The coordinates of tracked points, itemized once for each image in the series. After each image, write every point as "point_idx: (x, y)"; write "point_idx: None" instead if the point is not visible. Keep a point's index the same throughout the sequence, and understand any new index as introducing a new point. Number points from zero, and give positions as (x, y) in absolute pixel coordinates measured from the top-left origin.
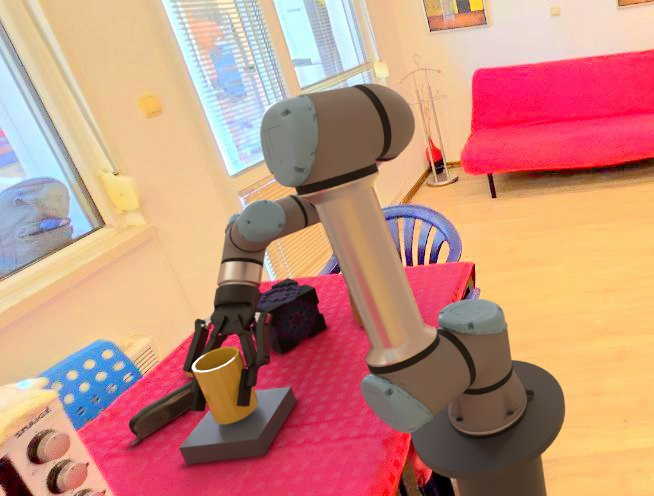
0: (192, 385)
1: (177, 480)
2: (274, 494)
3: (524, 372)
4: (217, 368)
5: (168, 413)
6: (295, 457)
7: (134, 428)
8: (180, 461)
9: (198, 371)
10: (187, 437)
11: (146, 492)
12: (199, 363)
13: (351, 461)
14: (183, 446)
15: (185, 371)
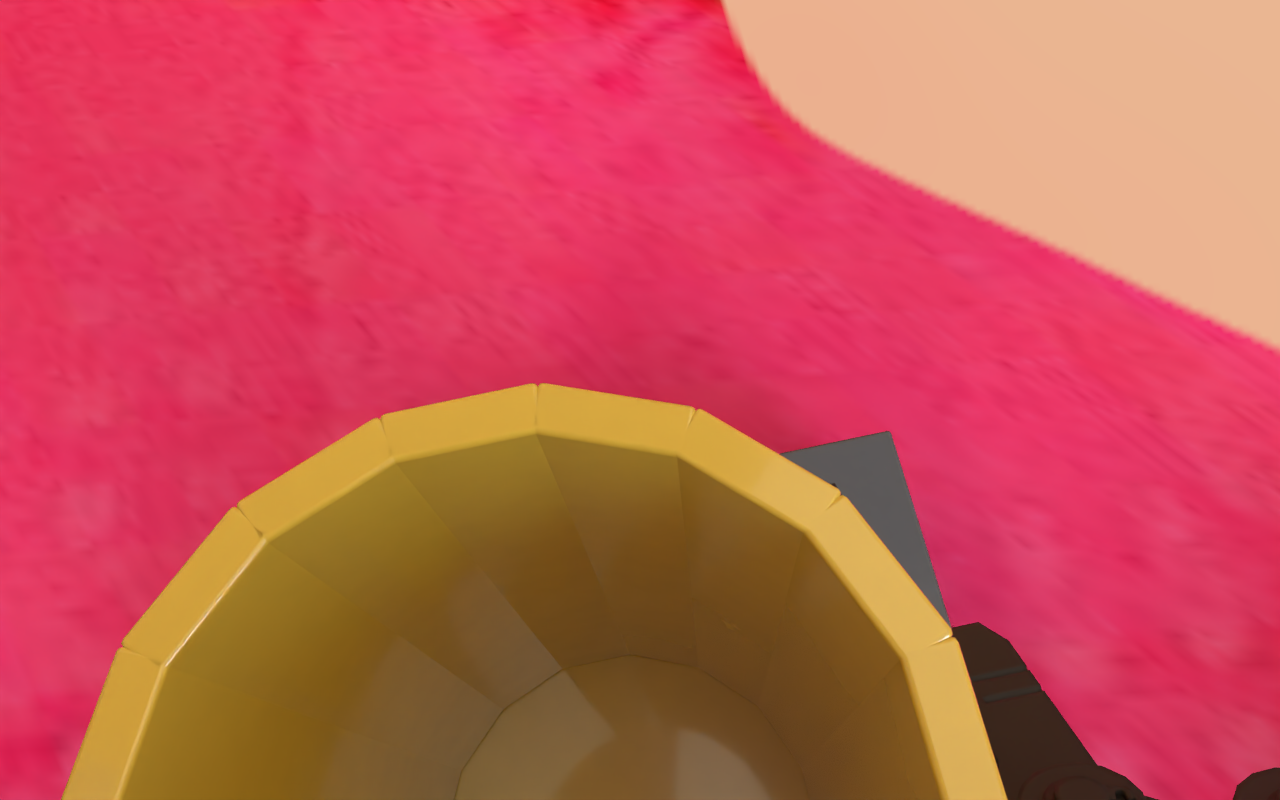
0: (1014, 678)
1: (810, 368)
2: (75, 331)
3: None
4: (241, 505)
5: None
6: (62, 602)
7: None
8: (946, 511)
9: (598, 411)
10: (921, 539)
11: (941, 275)
12: (908, 751)
13: None
14: (863, 448)
15: (1271, 773)
